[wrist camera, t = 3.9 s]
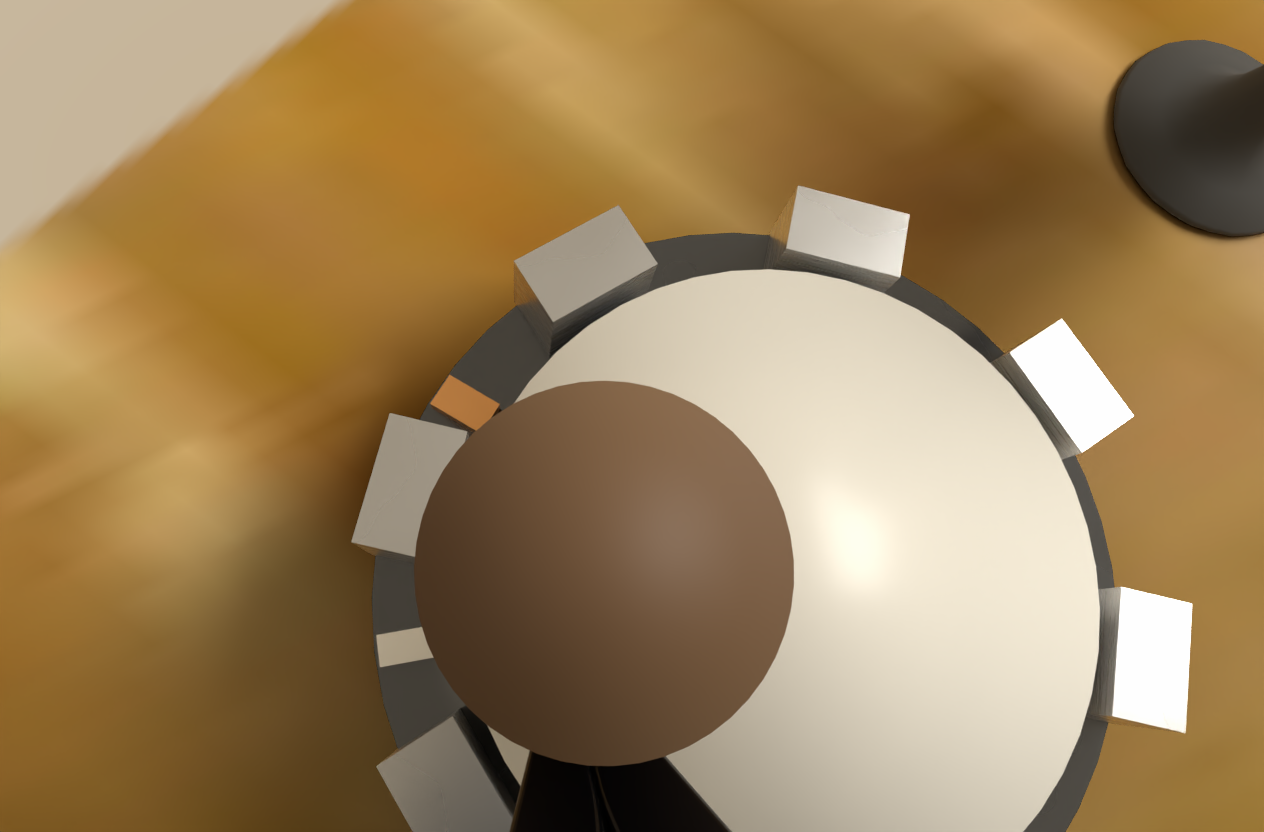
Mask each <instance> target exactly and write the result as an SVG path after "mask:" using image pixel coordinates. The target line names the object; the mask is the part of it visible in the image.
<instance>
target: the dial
mask: <svg viewBox="0 0 1264 832" xmlns="http://www.w3.org/2000/svg"><path fill="white" fill-rule="evenodd" d="M414 580H415V596H416V602H417V608H418V614H419V619H420V622H421V626H422V629H423V632H424V635H425V638H426V641H427V644H428V647H429V649H430V651H431V653H432V655H433V657H434V659H435V661H436V664H437V666H438V668H439V669H440V671H441V672H442V674H443V676H444V677H445V679H446V680H447V682H448V683H449V685H450V686H451V688H452V689H453V691H454V692H455V693H456V694H457V695H458V697H459V698H460V699H461V700H462V701H463V702H464V703H465V705H466V706H467V707H468V708H469V709H470V710H471V711H472V712H473V713H474V714H475V715H476V716H478V717H479V718H480V719H481V720H482V721H483V722H484V723H486V724H487V726H488V728H489V730H490V732H491V734H492V736H493V738H494V740H495V742H496V745H497V747H498V749H499V751H500V753H501V755H502V757H503V759H504V761H505V763H506V764H507V766H508V767H509V769H510V771H511V772H512V774H513V775H514V777H515V778H516V780H517V781H518V783H519V784H520V786H521V783H522V779H523V775H524V771H525V767H526V763H527V759H528V755H529V751H532V752H534V753H536V754H540V755H543V756H546V757H549V758H552V759H556V760H559V761H563V762H569V763H575V764H581V765H587V766H619V765H628V764H636V763H642V762H646V761H649V760H653V759H657V758H661V757H665V756H666V757H667V758H668V759H669V760H670V761H671V762H672V764H673V765H674V766H675V767H676V768H677V769H678V770H679V772H680V773H681V774H682V775H683V776H684V777H685V778H686V780H687V781H688V782H689V783H690V784H691V785H692V786H693V788H694V789H695V790H696V791H697V792H698V793H699V794H700V796H701V797H702V798H703V799H704V800H705V801H706V802H707V804H708V805H709V806H710V807H711V808H712V809H713V810H714V812H715V813H716V814H717V815H718V816H719V817H720V818H721V820H722V821H723V822H724V823H725V824H726V825H727V826H728V828H729V829H730V830H731V831H732V832H1023V831H1024V830H1025V829H1026V828H1027V826H1028V825H1029V824H1030V823H1031V822H1032V820H1033V819H1034V818H1035V817H1036V815H1037V814H1038V813H1039V812H1040V810H1041V809H1042V807H1043V806H1044V804H1045V802H1046V801H1047V799H1048V797H1049V796H1050V794H1051V793H1052V791H1053V789H1054V788H1055V786H1056V784H1057V783H1058V781H1059V779H1060V778H1061V776H1062V775H1063V772H1064V770H1065V768H1066V766H1067V763H1068V761H1069V759H1070V757H1071V754H1072V752H1073V750H1074V747H1075V745H1076V743H1077V741H1078V738H1079V736H1080V733H1081V730H1082V726H1083V723H1084V720H1085V716H1086V713H1087V709H1088V706H1089V702H1090V699H1091V695H1092V691H1093V684H1094V678H1095V671H1096V665H1097V659H1098V652H1099V622H1100V605H1099V594H1098V583H1097V572H1096V565H1095V560H1094V555H1093V550H1092V546H1091V541H1090V536H1089V531H1088V527H1087V524H1086V521H1085V518H1084V515H1083V512H1082V509H1081V506H1080V503H1079V500H1078V497H1077V494H1076V491H1075V488H1074V486H1073V484H1072V482H1071V479H1070V477H1069V475H1068V473H1067V471H1066V469H1065V467H1064V465H1063V462H1062V460H1061V458H1060V456H1059V454H1058V452H1057V450H1056V448H1055V447H1054V445H1053V443H1052V442H1051V440H1050V438H1049V437H1048V435H1047V434H1046V432H1045V430H1044V429H1043V427H1042V425H1041V424H1040V422H1039V421H1038V419H1037V417H1036V416H1035V414H1034V413H1033V412H1032V411H1031V409H1030V408H1029V407H1028V406H1027V404H1026V403H1025V402H1024V400H1023V399H1022V398H1021V397H1020V395H1019V394H1018V393H1017V392H1016V390H1015V389H1014V388H1013V386H1012V385H1011V384H1010V383H1009V382H1008V381H1007V380H1006V379H1005V378H1004V377H1003V376H1002V375H1001V374H1000V373H999V372H998V371H997V370H996V369H995V368H994V367H993V366H992V365H991V364H990V363H989V362H988V361H987V360H986V359H985V358H984V357H983V356H982V355H981V354H980V353H979V352H977V351H976V350H975V349H974V348H973V347H971V346H970V345H969V344H968V343H966V342H965V341H964V340H963V339H961V338H960V337H959V336H958V335H956V334H955V333H954V332H953V331H951V330H950V329H948V328H947V327H945V326H943V325H942V324H940V323H939V322H937V321H935V320H934V319H932V318H931V317H929V316H927V315H926V314H924V313H923V312H921V311H919V310H918V309H916V308H914V307H912V306H910V305H907V304H905V303H903V302H901V301H899V300H897V299H895V298H893V297H891V296H888V295H886V294H884V293H882V292H879V291H876V290H873V289H870V288H867V287H864V286H861V285H858V284H855V283H852V282H849V281H846V280H842V279H837V278H832V277H828V276H823V275H818V274H813V273H808V272H797V271H784V270H772V269H765V270H742V271H728V272H722V273H716V274H711V275H705V276H699V277H693V278H690V279H687V280H683V281H680V282H677V283H674V284H670V285H667V286H664V287H661V288H658V289H655V290H653V291H651V292H648V293H646V294H644V295H642V296H640V297H637V298H635V299H633V300H631V301H629V302H627V303H624V304H622V305H620V306H619V307H617V308H615V309H614V310H612V311H611V312H609V313H608V314H606V315H604V316H603V317H601V318H600V319H598V320H596V321H595V322H593V323H592V324H590V325H588V326H587V327H586V328H585V329H583V330H582V331H581V332H580V333H579V334H577V335H576V336H575V337H574V338H573V339H571V340H570V341H569V342H568V343H567V344H565V345H564V346H563V347H562V348H561V349H559V350H558V351H557V352H556V353H555V354H554V355H553V356H552V357H551V359H550V360H549V361H548V362H547V363H546V364H545V365H544V366H543V367H542V368H541V369H540V371H539V372H538V373H537V374H536V375H535V376H534V377H533V378H532V379H531V380H530V381H529V383H528V384H527V386H526V387H525V388H524V390H523V391H522V393H521V394H520V396H519V397H518V398H517V400H516V401H515V403H514V404H512V405H510V406H509V407H507V408H506V409H504V410H503V411H501V412H500V413H498V414H496V415H495V416H493V417H492V418H491V419H489V420H488V421H487V422H486V423H485V424H484V425H482V426H481V427H480V428H479V429H478V430H476V431H475V432H474V433H473V434H472V435H471V436H470V437H469V438H468V439H467V441H466V442H465V443H464V444H463V445H462V446H461V447H460V448H459V449H458V450H457V451H456V453H455V454H454V456H453V457H452V459H451V460H450V461H449V463H448V464H447V466H446V467H445V468H444V470H443V471H442V473H441V475H440V477H439V479H438V481H437V483H436V485H435V486H434V488H433V490H432V492H431V494H430V497H429V500H428V502H427V505H426V508H425V511H424V513H423V516H422V520H421V524H420V528H419V533H418V537H417V541H416V551H415V562H414Z"/></svg>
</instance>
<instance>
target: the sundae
mask: <svg viewBox="0 0 1264 832" xmlns="http://www.w3.org/2000/svg"><path fill="white" fill-rule="evenodd" d="M1114 129H1115V133H1116V137H1117V141H1118V144H1119V148H1120V151H1121V153H1122V156H1123V159H1124V161H1125V164H1126V166H1127V168H1128V169H1129V171H1130V172H1131V174H1132V175H1133V177H1134V178H1135V179H1136V181H1137V182H1138V184H1139V185H1140V186H1141V187H1142V189H1143V190H1144V191H1145V192H1146V193H1147V194H1148V195H1149V197H1150V198H1151V199H1152V200H1153V201H1154V202H1156V203H1157V204H1158V205H1160V206H1161V207H1162V208H1164V209H1165V210H1166V211H1168V212H1169V213H1170V214H1172V215H1174V216H1175V217H1177V218H1179V219H1180V220H1182V221H1183V222H1185V223H1187V224H1189V225H1191V226H1194V227H1197V228H1200V229H1203V230H1206V231H1209V232H1213V233H1218V234H1222V235H1227V236H1246V235H1254V234H1259V233H1264V65H1263V64H1261V63H1260V62H1258V61H1257V60H1255V59H1253V58H1252V57H1250V56H1249V55H1247V54H1246V53H1244V52H1242V51H1239V50H1237V49H1234V48H1232V47H1229V46H1226V45H1223V44H1219V43H1215V42H1211V41H1206V40H1189V41H1180V42H1174V43H1168V44H1165V45H1163V46H1161V47H1159V48H1157V49H1154V50H1152V51H1150V52H1149V53H1147V54H1146V55H1144V56H1143V57H1141V58H1140V59H1138V60H1137V61H1135V63H1134V64H1133V65H1132V67H1131V68H1130V69H1129V71H1128V72H1127V73H1126V75H1125V76H1124V78H1123V80H1122V82H1121V84H1120V86H1119V88H1118V90H1117V95H1116V101H1115V107H1114Z"/></svg>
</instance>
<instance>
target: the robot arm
mask: <svg viewBox="0 0 1264 832" xmlns="http://www.w3.org/2000/svg"><path fill="white" fill-rule="evenodd" d="M509 832H732V831H731V830H730V829H729V828H728V826H727V825H726V824H725V823H724V822H723V821H722V820H721V818H720V817H719V816H718V815H717V814H716V813H715V812H714V810H713V809H712V808H711V807H710V806H709V805H708V804H707V802H706V801H705V800H704V799H703V798H702V797H701V796H700V794H699V793H698V792H697V791H696V790H695V789H694V788H693V786H692V785H691V784H690V783H689V782H688V781H687V780H686V778H685V777H684V776H683V775H682V774H681V773H680V772H679V770H678V769H677V768H676V767H675V766H674V765H673V764H672V762H671V761H670V760H669V759H668V758H667V757H666V756H665V757H661V758H657V759H653V760H649V761H646V762H642V763H636V764H628V765H619V766H587V765H581V764H575V763H569V762H563V761H559V760H556V759H552V758H549V757H546V756H543V755H540V754H536V753H534V752H532V751H529V755H528V759H527V763H526V767H525V771H524V775H523V779H522V783H521V787H520V791H519V795H518V799H517V803H516V807H515V811H514V815H513V819H512V823H511V827H510V831H509Z"/></svg>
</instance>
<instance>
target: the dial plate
mask: <svg viewBox="0 0 1264 832" xmlns="http://www.w3.org/2000/svg"><path fill="white" fill-rule="evenodd" d="M909 215H910V214H906V213H902V212H898V211H895V210H891V209H887V208H883V207H879V206H875V205H871V204H868V203H864V202H860V201H856V200H852V199H848V198H845V197H841V196H837V195H833V194H829V193H825V192H821V191H818V190H814V189H810V188H806V187H802V186H797V188H796V190H795V191H794V193H793V195H792V196H791V198H790V200H789V201H788V203H787V204H786V206H785V208H784V209H783V211H782V213H781V214H780V216H779V218H778V219H777V221H776V223H775V224H774V226H773V228H772V229H771V231H770V235H756V234H741V233H723V234H705V235H688V236H683V237H677V238H672V239H666V240H661V241H655V242H650V243H645V244H644V242H643V241H642V239H641V238H640V237H639V235H638V234H637V232H636V231H635V229H634V228H633V226H632V225H631V223H630V222H629V220H628V219H627V217H626V216H625V214H624V213H623V211H622V210H621V208H620V207H619V205H618V206H616V207H614V208H612V209H610V210H608V211H607V212H605V213H603V214H601V215H599V216H597V217H595V218H593V219H592V220H590V221H588V222H586V223H584V224H582V225H580V226H578V227H577V228H575V229H573V230H571V231H569V232H567V233H565V234H563V235H562V236H560V237H558V238H556V239H554V240H552V241H550V242H548V243H547V244H545V245H543V246H541V247H539V248H537V249H535V250H533V251H532V252H530V253H528V254H526V255H524V256H522V257H520V258H519V259H517V260H515V261H514V302H515V303H516V305H517V306H516V307H515V308H513V309H512V310H511V311H510V312H509V313H507V314H506V315H505V316H504V317H503V318H501V319H500V320H499V321H498V322H497V323H495V324H494V325H493V326H492V327H491V328H489V329H488V330H487V331H486V332H485V333H484V334H483V336H482V337H481V338H480V339H479V340H478V341H477V342H476V343H475V344H474V345H473V346H472V347H471V349H470V350H469V351H468V352H467V353H466V354H465V355H464V356H463V357H462V358H461V359H460V360H459V362H458V363H457V364H456V365H455V366H454V368H453V369H452V371H451V372H450V373H449V375H448V376H447V378H446V379H445V380H444V382H443V383H442V385H441V386H440V388H439V389H438V390H437V392H436V393H435V395H434V396H433V398H432V399H431V400H430V402H429V403H428V405H427V407H426V409H425V410H424V412H423V414H422V416H421V418H420V420H417V419H413V418H409V417H405V416H401V415H396V414H392V413H390V414H389V417H388V420H387V424H386V427H385V431H384V434H383V437H382V441H381V444H380V447H379V451H378V454H377V457H376V461H375V464H374V467H373V471H372V474H371V478H370V481H369V484H368V488H367V491H366V494H365V498H364V501H363V504H362V508H361V511H360V514H359V518H358V521H357V524H356V528H355V531H354V535H353V538H352V541H351V542H352V543H353V544H355V545H356V546H358V547H360V548H361V549H363V550H364V551H366V552H368V553H369V554H371V555H376V556H375V568H374V580H373V591H372V612H373V634H374V653H375V659H376V664H377V670H378V675H379V681H380V686H381V692H382V697H383V703H384V707H385V710H386V713H387V717H388V720H389V723H390V726H391V729H392V732H393V735H394V738H395V741H396V744H397V748H398V749H397V750H396V751H394V752H393V753H392V754H390V755H389V756H388V757H387V758H385V759H384V760H383V761H382V762H381V763H379V764H378V765H377V766H376V767H377V769H378V771H379V773H380V774H381V776H382V778H383V780H384V782H385V783H386V785H387V787H388V789H389V791H390V792H391V794H392V796H393V798H394V799H395V801H396V803H397V805H398V807H399V808H400V810H401V812H402V814H403V815H404V817H405V819H406V821H407V823H408V824H409V826H410V828H411V830H412V832H509V831H510V827H511V823H512V819H513V815H514V811H515V807H516V803H517V799H518V795H519V791H520V787H521V786H520V784H519V783H518V781H517V780H516V778H515V777H514V775H513V774H512V772H511V771H510V769H509V767H508V766H507V764H506V763H505V761H504V759H503V757H502V755H501V753H500V751H499V749H498V747H497V745H496V742H495V740H494V738H493V736H492V734H491V732H490V730H489V728H488V726H487V724H486V723H484V722H483V721H482V720H481V719H480V718H479V717H478V716H476V715H475V714H474V713H473V712H472V711H471V710H470V709H469V708H468V707H467V706H466V705H465V703H464V702H463V701H462V700H461V699H460V698H459V697H458V695H457V694H456V693H455V692H454V691H453V689H452V688H451V686H450V685H449V683H448V682H447V680H446V679H445V677H444V676H443V674H442V672H441V671H440V669H439V668H438V666H437V664H436V661H435V659H434V657H433V655H432V653H431V651H430V649H429V647H428V644H427V641H426V638H425V635H424V632H423V629H422V626H421V622H420V619H419V614H418V608H417V602H416V596H415V580H414V562H415V551H416V541H417V537H418V533H419V528H420V524H421V520H422V516H423V513H424V511H425V508H426V505H427V502H428V500H429V497H430V494H431V492H432V490H433V488H434V486H435V485H436V483H437V481H438V479H439V477H440V475H441V473H442V471H443V470H444V468H445V467H446V466H447V464H448V463H449V461H450V460H451V459H452V457H453V456H454V454H455V453H456V451H457V450H458V449H459V448H460V447H461V446H462V445H463V444H464V443H465V442H466V441H467V439H468V438H469V437H470V436H471V435H472V434H473V433H474V432H475V431H476V430H478V429H479V428H480V427H481V426H482V425H484V424H485V423H486V422H487V421H488V420H489V419H491V418H492V417H493V416H495V415H496V414H498V413H500V412H501V411H503V410H504V409H506V408H507V407H509V406H510V405H512V404H514V403H515V401H516V400H517V398H518V397H519V396H520V394H521V393H522V391H523V390H524V388H525V387H526V386H527V384H528V383H529V381H530V380H531V379H532V378H533V377H534V376H535V375H536V374H537V373H538V372H539V371H540V369H541V368H542V367H543V366H544V365H545V364H546V363H547V362H548V361H549V360H550V359H551V357H552V356H553V355H554V354H555V353H556V352H557V351H558V350H559V349H561V348H562V347H563V346H564V345H565V344H567V343H568V342H569V341H570V340H571V339H573V338H574V337H575V336H576V335H577V334H579V333H580V332H581V331H582V330H583V329H585V328H586V327H587V326H588V325H590V324H592V323H593V322H595V321H596V320H598V319H600V318H601V317H603V316H604V315H606V314H608V313H609V312H611V311H612V310H614V309H615V308H617V307H619V306H620V305H622V304H624V303H627V302H629V301H631V300H633V299H635V298H637V297H640V296H642V295H644V294H646V293H648V292H651V291H653V290H655V289H658V288H661V287H664V286H667V285H670V284H674V283H677V282H680V281H683V280H687V279H690V278H693V277H699V276H705V275H711V274H716V273H722V272H728V271H742V270H765V269H772V270H784V271H797V272H808V273H813V274H818V275H823V276H828V277H832V278H837V279H842V280H846V281H849V282H852V283H855V284H858V285H861V286H864V287H867V288H870V289H873V290H876V291H879V292H882V293H884V294H886V295H888V296H891V297H893V298H895V299H897V300H899V301H901V302H903V303H905V304H907V305H910V306H912V307H914V308H916V309H918V310H919V311H921V312H923V313H924V314H926V315H927V316H929V317H931V318H932V319H934V320H935V321H937V322H939V323H940V324H942V325H943V326H945V327H947V328H948V329H950V330H951V331H953V332H954V333H955V334H956V335H958V336H959V337H960V338H961V339H963V340H964V341H965V342H966V343H968V344H969V345H970V346H971V347H973V348H974V349H975V350H976V351H977V352H979V353H980V354H981V355H982V356H983V357H984V358H985V359H986V360H987V361H988V362H989V363H990V364H991V365H992V366H993V367H994V368H995V369H996V370H997V371H998V372H999V373H1000V374H1001V375H1002V376H1003V377H1004V378H1005V379H1006V380H1007V381H1008V382H1009V383H1010V384H1011V385H1012V386H1013V388H1014V389H1015V390H1016V392H1017V393H1018V394H1019V395H1020V397H1021V398H1022V399H1023V400H1024V402H1025V403H1026V404H1027V406H1028V407H1029V408H1030V409H1031V411H1032V412H1033V413H1034V414H1035V416H1036V417H1037V419H1038V421H1039V422H1040V424H1041V425H1042V427H1043V429H1044V430H1045V432H1046V434H1047V435H1048V437H1049V438H1050V440H1051V442H1052V443H1053V445H1054V447H1055V448H1056V450H1057V452H1058V454H1059V456H1060V458H1061V460H1062V462H1063V465H1064V467H1065V469H1066V471H1067V473H1068V475H1069V477H1070V479H1071V482H1072V484H1073V486H1074V488H1075V491H1076V494H1077V497H1078V500H1079V503H1080V506H1081V509H1082V512H1083V515H1084V518H1085V521H1086V524H1087V527H1088V531H1089V536H1090V541H1091V546H1092V550H1093V555H1094V560H1095V565H1096V572H1097V583H1098V594H1099V605H1100V622H1099V652H1098V659H1097V665H1096V671H1095V678H1094V684H1093V691H1092V695H1091V699H1090V702H1089V706H1088V709H1087V713H1086V716H1085V720H1084V723H1083V726H1082V730H1081V733H1080V736H1079V738H1078V741H1077V743H1076V745H1075V747H1074V750H1073V752H1072V754H1071V757H1070V759H1069V761H1068V763H1067V766H1066V768H1065V770H1064V772H1063V775H1062V776H1061V778H1060V779H1059V781H1058V783H1057V784H1056V786H1055V788H1054V789H1053V791H1052V793H1051V794H1050V796H1049V797H1048V799H1047V801H1046V802H1045V804H1044V806H1043V807H1042V809H1041V810H1040V812H1039V813H1038V814H1037V815H1036V817H1035V818H1034V819H1033V820H1032V822H1031V823H1030V824H1029V825H1028V826H1027V828H1026V829H1025V830H1024V831H1023V832H1066V830H1067V828H1068V826H1069V825H1070V823H1071V821H1072V819H1073V818H1074V816H1075V814H1076V812H1077V811H1078V809H1079V807H1080V804H1081V802H1082V799H1083V797H1084V794H1085V792H1086V790H1087V787H1088V785H1089V782H1090V780H1091V777H1092V775H1093V772H1094V770H1095V768H1096V765H1097V763H1098V759H1099V755H1100V752H1101V748H1102V744H1103V740H1104V737H1105V733H1106V729H1107V725H1108V723H1112V724H1119V725H1127V726H1135V727H1143V728H1151V729H1159V730H1166V731H1174V732H1182V733H1186V714H1187V694H1188V674H1189V655H1190V635H1191V615H1192V604H1191V603H1187V602H1183V601H1178V600H1174V599H1170V598H1166V597H1162V596H1157V595H1153V594H1149V593H1145V592H1141V591H1136V590H1132V589H1128V588H1124V587H1117V588H1114V580H1113V571H1112V565H1111V561H1110V556H1109V552H1108V548H1107V543H1106V539H1105V535H1104V530H1103V526H1102V522H1101V519H1100V516H1099V513H1098V510H1097V508H1096V505H1095V502H1094V499H1093V496H1092V494H1091V491H1090V488H1089V485H1088V482H1087V480H1086V477H1085V475H1084V473H1083V471H1082V469H1081V467H1080V464H1079V462H1078V460H1077V458H1076V456H1075V455H1076V454H1079V453H1082V452H1084V451H1085V450H1086V449H1088V448H1089V447H1091V446H1092V445H1093V444H1095V443H1096V442H1098V441H1099V440H1101V439H1102V438H1103V437H1105V436H1106V435H1108V434H1109V433H1111V432H1112V431H1113V430H1115V429H1116V428H1118V427H1119V426H1120V425H1122V424H1123V423H1125V422H1126V421H1128V420H1129V419H1130V418H1132V417H1133V416H1134V415H1133V414H1132V413H1131V411H1130V410H1129V409H1128V407H1127V406H1126V405H1125V403H1124V402H1123V400H1122V399H1121V398H1120V396H1119V395H1118V394H1117V392H1116V391H1115V390H1114V388H1113V387H1112V386H1111V384H1110V383H1109V382H1108V380H1107V379H1106V378H1105V376H1104V375H1103V373H1102V372H1101V371H1100V369H1099V368H1098V367H1097V365H1096V364H1095V363H1094V361H1093V360H1092V359H1091V357H1090V356H1089V355H1088V353H1087V352H1086V350H1085V349H1084V348H1083V346H1082V345H1081V344H1080V342H1079V341H1078V340H1077V338H1076V337H1075V336H1074V334H1073V333H1072V332H1071V330H1070V329H1069V328H1068V326H1067V325H1066V323H1065V322H1064V321H1063V319H1060V320H1058V321H1057V322H1055V323H1053V324H1052V325H1050V326H1048V327H1047V328H1045V329H1044V330H1042V331H1040V332H1039V333H1037V334H1035V335H1034V336H1032V337H1030V338H1029V339H1027V340H1025V341H1024V342H1022V343H1020V344H1019V345H1017V346H1016V347H1014V348H1012V349H1011V350H1009V351H1007V352H1006V353H1003V352H1002V351H1001V350H1000V349H999V348H998V347H997V346H996V345H995V344H994V343H993V342H992V341H991V340H990V339H989V338H988V337H987V336H986V335H985V334H984V333H983V332H982V331H981V330H980V329H979V328H978V327H976V326H975V325H974V324H973V323H971V322H970V321H969V320H967V319H966V318H965V317H964V316H962V315H961V314H960V313H958V312H957V311H956V310H955V309H953V308H952V307H951V306H949V305H948V304H947V303H946V302H944V301H943V300H942V299H940V298H938V297H937V296H935V295H933V294H932V293H930V292H928V291H927V290H925V289H923V288H922V287H920V286H918V285H917V284H915V283H914V282H912V281H910V280H909V279H907V278H905V277H904V276H901V269H902V262H903V255H904V249H905V242H906V235H907V229H908V222H909Z"/></svg>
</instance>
